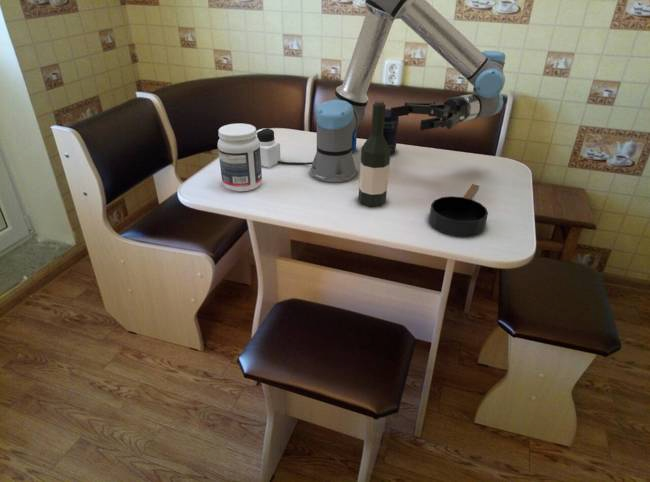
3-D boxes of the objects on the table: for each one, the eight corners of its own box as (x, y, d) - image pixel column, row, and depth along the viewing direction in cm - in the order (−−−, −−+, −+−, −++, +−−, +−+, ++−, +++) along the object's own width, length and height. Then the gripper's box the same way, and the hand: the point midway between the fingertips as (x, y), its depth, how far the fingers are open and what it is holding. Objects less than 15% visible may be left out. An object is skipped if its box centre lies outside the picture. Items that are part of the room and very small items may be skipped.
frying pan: (476, 242, 118) (480, 227, 116) (421, 227, 125) (423, 213, 122) (497, 203, 138) (501, 189, 135) (449, 192, 144) (451, 178, 141)
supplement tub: (245, 173, 154) (241, 119, 145) (270, 184, 147) (267, 129, 137) (214, 184, 146) (207, 128, 137) (238, 197, 139) (233, 139, 129)
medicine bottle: (281, 161, 163) (279, 129, 157) (268, 168, 158) (266, 134, 152) (265, 157, 166) (263, 125, 160) (252, 163, 161) (250, 130, 155)
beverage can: (350, 154, 170) (352, 123, 164) (335, 151, 173) (336, 120, 166) (358, 149, 175) (360, 118, 168) (344, 146, 177) (345, 116, 171)
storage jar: (365, 153, 171) (368, 114, 163) (374, 145, 179) (377, 107, 171) (391, 158, 168) (395, 118, 160) (398, 149, 175) (402, 111, 167)
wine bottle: (384, 208, 134) (393, 106, 118) (356, 205, 135) (362, 104, 119) (386, 196, 141) (396, 98, 125) (360, 193, 142) (366, 96, 126)
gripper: (489, 132, 131) (433, 144, 122) (431, 110, 150) (378, 120, 140) (494, 106, 127) (437, 117, 118) (434, 87, 146) (380, 95, 136)
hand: (405, 118), depth 129 cm, fingers open, 13 cm apart
